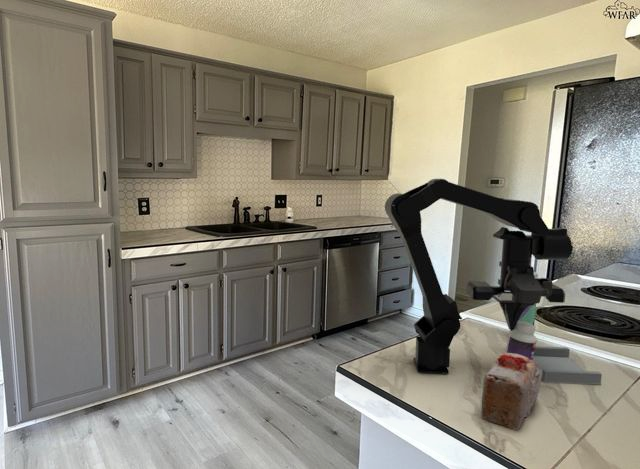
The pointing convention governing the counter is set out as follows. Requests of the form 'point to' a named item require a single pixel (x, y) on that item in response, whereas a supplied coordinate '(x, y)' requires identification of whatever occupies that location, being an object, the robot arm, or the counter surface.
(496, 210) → the robot arm
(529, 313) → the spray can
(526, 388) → the food item
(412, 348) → the counter surface
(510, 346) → the pill bottle
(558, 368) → the tray
